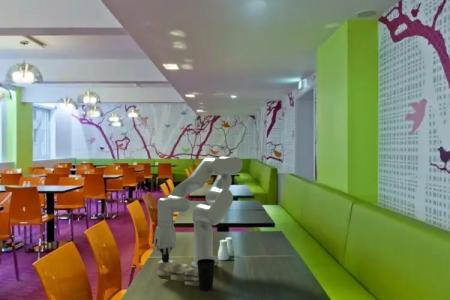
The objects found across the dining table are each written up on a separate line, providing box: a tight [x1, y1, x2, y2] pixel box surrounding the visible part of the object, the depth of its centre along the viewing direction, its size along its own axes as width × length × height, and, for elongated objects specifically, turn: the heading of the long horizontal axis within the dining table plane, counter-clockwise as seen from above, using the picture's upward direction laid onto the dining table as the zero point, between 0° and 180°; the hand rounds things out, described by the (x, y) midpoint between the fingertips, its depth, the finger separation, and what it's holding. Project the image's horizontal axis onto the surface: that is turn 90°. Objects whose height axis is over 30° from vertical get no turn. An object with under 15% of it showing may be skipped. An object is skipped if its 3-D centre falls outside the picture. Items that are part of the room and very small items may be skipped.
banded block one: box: [170, 262, 189, 282], centre depth 198 cm, size 6×6×6 cm
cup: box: [197, 259, 216, 292], centre depth 183 cm, size 8×8×12 cm
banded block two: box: [183, 267, 199, 287], centre depth 191 cm, size 6×6×6 cm
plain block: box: [156, 259, 175, 277], centre depth 204 cm, size 6×6×6 cm
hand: (165, 261), depth 204 cm, fingers closed
